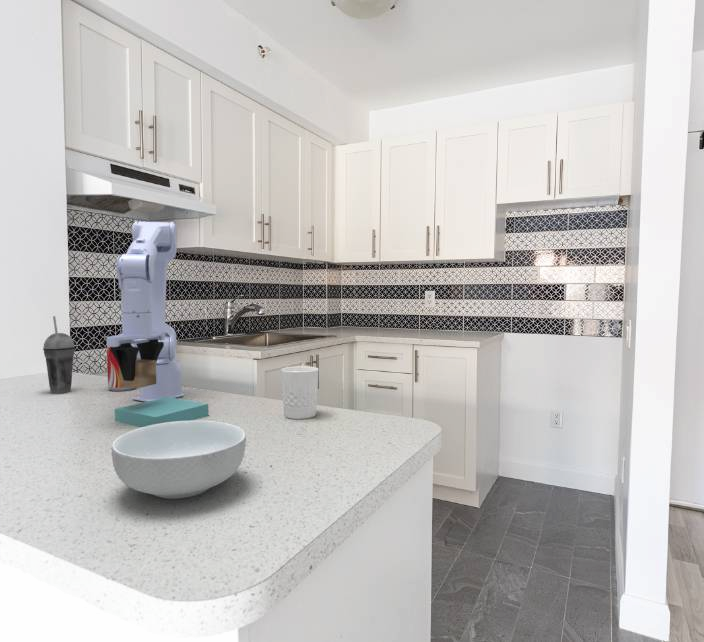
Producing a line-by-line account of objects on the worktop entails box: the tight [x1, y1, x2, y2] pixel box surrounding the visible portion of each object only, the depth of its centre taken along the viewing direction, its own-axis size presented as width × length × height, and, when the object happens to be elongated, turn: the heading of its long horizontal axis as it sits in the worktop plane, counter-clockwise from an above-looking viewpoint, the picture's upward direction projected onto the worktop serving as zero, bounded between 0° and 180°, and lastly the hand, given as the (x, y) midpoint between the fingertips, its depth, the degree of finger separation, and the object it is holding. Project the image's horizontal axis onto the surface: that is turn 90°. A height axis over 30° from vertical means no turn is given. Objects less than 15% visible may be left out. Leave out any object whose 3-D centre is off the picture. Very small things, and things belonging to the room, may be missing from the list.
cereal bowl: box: [110, 419, 247, 500], centre depth 66 cm, size 17×17×7 cm
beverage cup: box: [42, 315, 76, 395], centre depth 128 cm, size 7×7×20 cm
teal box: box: [114, 397, 209, 428], centre depth 102 cm, size 13×13×3 cm
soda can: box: [106, 341, 135, 392], centre depth 132 cm, size 7×7×13 cm
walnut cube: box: [119, 359, 156, 389], centre depth 101 cm, size 5×5×5 cm
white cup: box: [280, 365, 319, 420], centre depth 104 cm, size 8×8×10 cm
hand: (138, 378), depth 101 cm, fingers closed on walnut cube, 5 cm apart
